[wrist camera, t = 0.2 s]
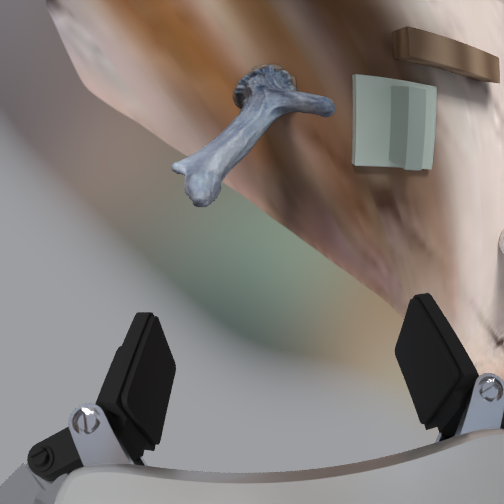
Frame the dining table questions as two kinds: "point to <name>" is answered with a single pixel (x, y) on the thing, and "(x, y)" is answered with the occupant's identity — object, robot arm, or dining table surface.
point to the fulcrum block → (393, 123)
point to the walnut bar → (444, 54)
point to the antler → (246, 128)
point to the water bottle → (501, 242)
